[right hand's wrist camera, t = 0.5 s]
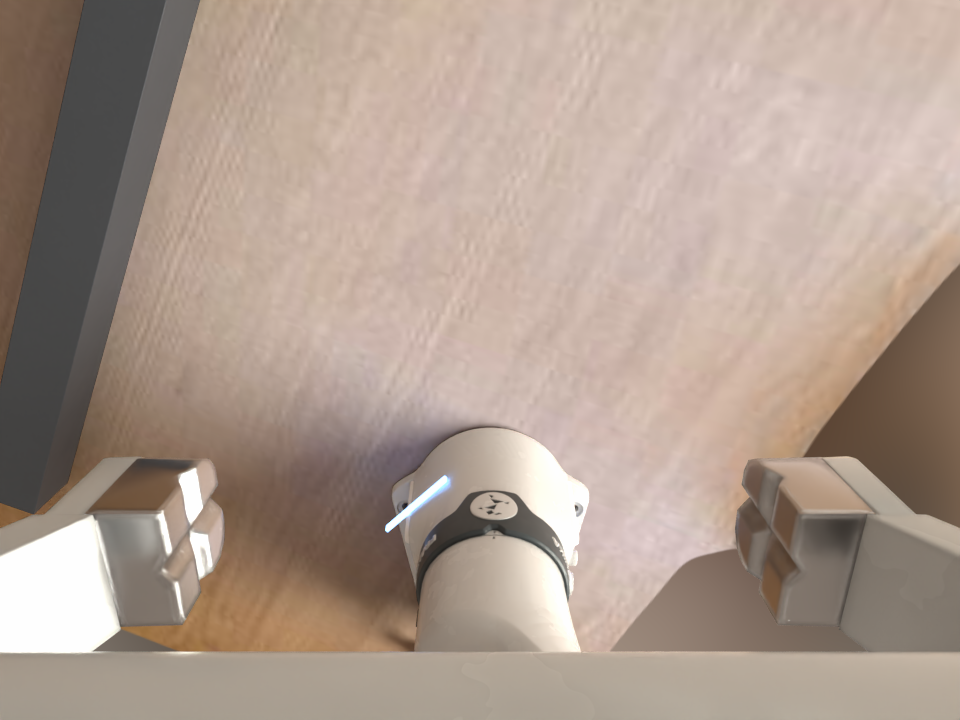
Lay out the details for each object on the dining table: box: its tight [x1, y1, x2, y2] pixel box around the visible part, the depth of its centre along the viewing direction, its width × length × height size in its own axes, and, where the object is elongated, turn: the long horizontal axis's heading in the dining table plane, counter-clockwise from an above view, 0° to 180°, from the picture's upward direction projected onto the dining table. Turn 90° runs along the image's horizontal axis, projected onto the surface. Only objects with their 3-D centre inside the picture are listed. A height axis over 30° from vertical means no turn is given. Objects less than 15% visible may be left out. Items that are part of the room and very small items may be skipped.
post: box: [0, 0, 200, 514], centre depth 53 cm, size 53×5×5 cm, turn 155°
